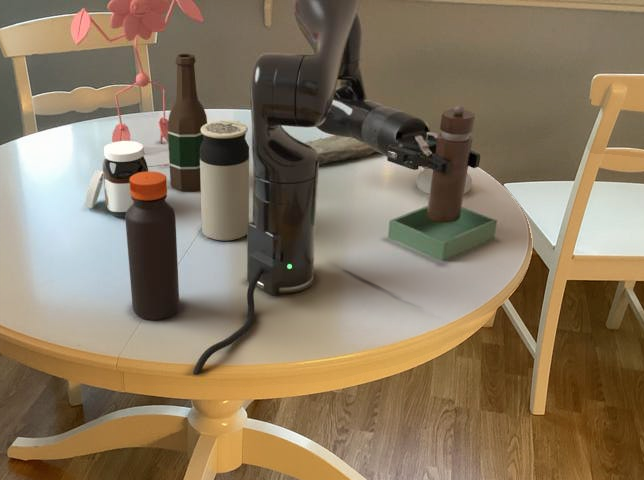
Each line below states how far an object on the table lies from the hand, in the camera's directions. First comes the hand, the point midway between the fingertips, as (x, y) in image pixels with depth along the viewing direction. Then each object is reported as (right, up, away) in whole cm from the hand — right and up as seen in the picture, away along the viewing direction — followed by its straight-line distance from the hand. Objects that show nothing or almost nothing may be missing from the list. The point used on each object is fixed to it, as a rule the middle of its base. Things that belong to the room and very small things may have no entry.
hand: (463, 165), depth 129 cm
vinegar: (-47, -23, -7) cm, 52 cm away
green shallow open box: (-1, -10, +10) cm, 14 cm away
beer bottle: (-43, +4, +32) cm, 54 cm away
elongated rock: (-8, +14, +46) cm, 49 cm away
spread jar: (-55, -3, +23) cm, 60 cm away
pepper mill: (-1, -7, +7) cm, 10 cm away
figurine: (-51, +12, +46) cm, 70 cm away
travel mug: (-36, -8, +14) cm, 40 cm away
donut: (+4, +1, +27) cm, 28 cm away
